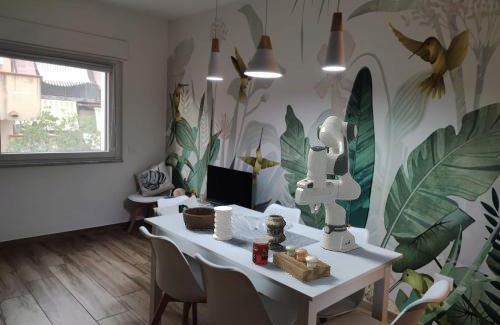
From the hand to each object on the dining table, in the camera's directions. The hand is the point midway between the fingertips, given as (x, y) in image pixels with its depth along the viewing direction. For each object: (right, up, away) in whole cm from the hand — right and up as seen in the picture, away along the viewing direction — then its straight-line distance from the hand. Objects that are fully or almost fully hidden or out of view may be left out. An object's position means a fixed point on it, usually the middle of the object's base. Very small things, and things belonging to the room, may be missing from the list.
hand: (314, 213), depth 162 cm
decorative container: (-46, -23, +54) cm, 75 cm away
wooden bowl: (-61, -20, +76) cm, 100 cm away
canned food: (-24, -27, +18) cm, 40 cm away
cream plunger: (-1, -28, +3) cm, 29 cm away
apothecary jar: (-15, -25, +41) cm, 50 cm away
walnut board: (-5, -29, +10) cm, 31 cm away
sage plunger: (-9, -27, +17) cm, 33 cm away
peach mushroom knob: (-5, -27, +10) cm, 29 cm away
